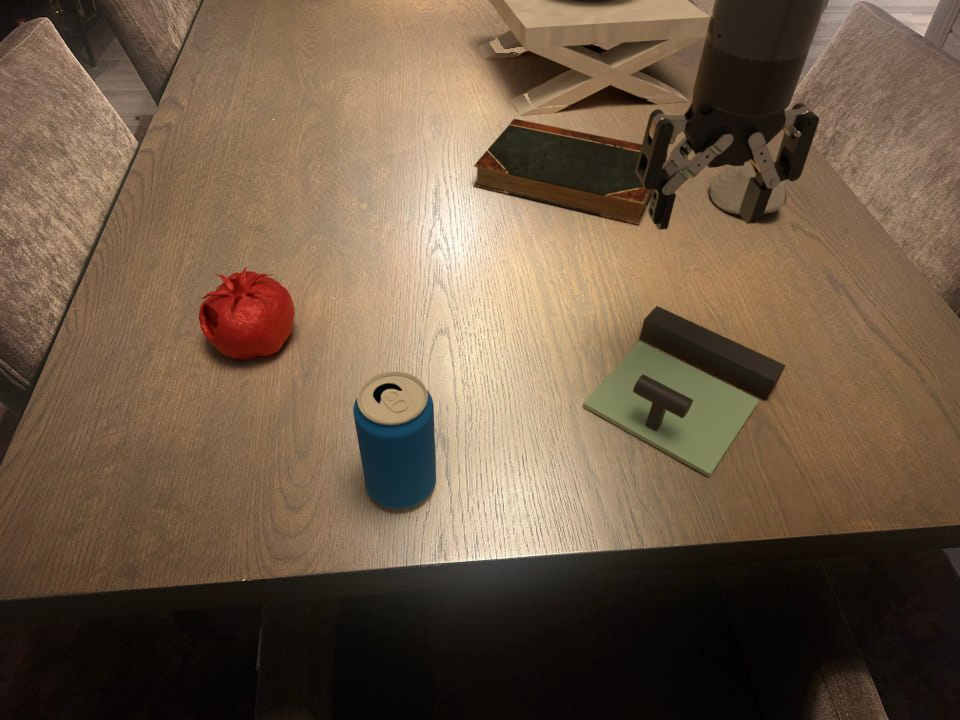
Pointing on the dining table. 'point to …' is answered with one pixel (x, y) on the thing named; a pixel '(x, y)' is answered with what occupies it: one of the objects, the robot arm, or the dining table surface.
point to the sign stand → (712, 352)
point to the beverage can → (396, 439)
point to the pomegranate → (247, 315)
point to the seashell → (741, 189)
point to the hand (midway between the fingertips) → (703, 221)
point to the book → (566, 170)
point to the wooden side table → (596, 20)
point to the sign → (673, 407)
